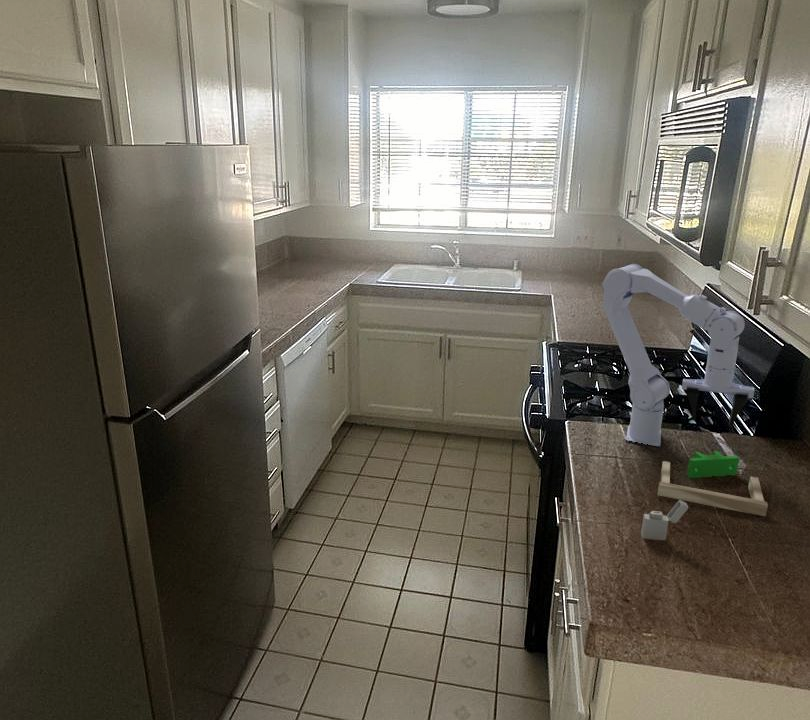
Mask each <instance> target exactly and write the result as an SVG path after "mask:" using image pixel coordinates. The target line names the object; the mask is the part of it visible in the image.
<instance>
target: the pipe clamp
mask: <svg viewBox="0 0 810 720" xmlns="http://www.w3.org/2000/svg"><path fill="white" fill-rule="evenodd" d="M739 461H740V457H739V456H737V455H723V454H722V453H720V452H719V451H718V450H714V451H713V454H711V455H708V454H704V453H701V452H699V451H695V454H694V457H691V458H689V461H688V466H687V471H686V477H688V479H694V478H695V479H697V478H711V477H712V476H715V477H726V475H731V476H737V473H738V468H739V463H740V462H739Z"/></svg>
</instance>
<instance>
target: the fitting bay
mask: <svg viewBox="0 0 810 720" xmlns="http://www.w3.org/2000/svg"><path fill="white" fill-rule="evenodd" d="M670 479H671V462H670V461H666V460H662V464H661V472H660V481H659V482H658V487H657V488H658V490H657V496H660V497H664V498H670V499H675V500H678V501H679V500H681V501H683V502H685V501H686V502H690V503H695V504H699V505H700V504H701V505H705V506H709V507H710V506H711V507H715V508H719V509H726V510H731V511H734V512H735V511H736V512H741V513H745V514H751V515H757V516H759V517H760V516H762V517H766V516H767V512H768V507H769V504H768V501H765V499H764V495H763V492H762V487H761V484H760V480H759V479H760V478H759V477H755V476H749V479H748V486H747V488H748V492H749V496H750V498H749V497H743V496H738V495H734V494H727V493H723V492H722V493H721V492H719V491H718V492H716V491H711V490H706V489H700V488H696V487H691V486H685V485H680V484H675V483H671V480H670Z"/></svg>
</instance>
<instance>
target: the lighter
mask: <svg viewBox="0 0 810 720" xmlns="http://www.w3.org/2000/svg"><path fill="white" fill-rule="evenodd" d="M688 509H689V506H688V503H687V502H685V501H684V500H679V499H678V501H677V502H676V503H675V504H674V505H673V507H672V508H671V510H669V512H668V513H667V515H664V514H663V512H662V511H660V510H659V511H656V510H652V511H651V512H649V513H644V514H643V517H642V525H641V529H640V535H641V538H642V539H643V540H656V541H666V538H667V535H668V534H667V532H668V526H669V521H670V522H671V523H673V524H677V523H678V521H679V520H680V519H681V518H682V517H683V515H684V514H685V513H686V512H687V510H688Z"/></svg>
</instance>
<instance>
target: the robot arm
mask: <svg viewBox="0 0 810 720" xmlns="http://www.w3.org/2000/svg"><path fill="white" fill-rule="evenodd" d="M601 285H602V286H601V287H602V288H603V299H602V308H603V311H604V314H605V316H606V318H607V320H608V323H609V325H610V328H611V330H612V333H613V335H614V337H615V339H616V342H617V344H618V347H619V350H620V351H621V354H622V357H623V359H624V362H625V364H626V366H627V369H628V372H629V378H628V384H627V385H628V386H629V387H628V388H629V391H630V392H629V398H630V401H631V403H632V407H631V414H630V422H629V425H627V426H628V427H627V430H626V437H625V441H626V440H627V441H626V442H629V441H632V442H631V443H635V442H638V443H637V444H641V443H643V444H642V445H647V444H648V446H654V447H661V443H662V441H661V438H662V430H661V428H662V422H663V416H664V408H665V404H664V399H666V398H667V397H668V396H669V394H670V391H671V387H670V384H669V382H668V381H667V379H666V378H665V377H664V376H662V375H663V374H662V375H661V372H660V370H659V368H657V367H656V366H654V365H653V364H652V362H651V360H650V358H649V355H648V353H647V350H646V347H645V345H644V343H643V340H642V338H641V336H640V334H639V331H638V329H637V326H636V324H635V321H634V319H633V316H632V315H631V311H630V309H629V307H628V306H629V304H630V302H631V301H632V299H633V297H634V295H635V294H637V293H649V294H651V295H652V296H654V297H656V298H657V299H660V300H663V301H664V302H666V303H668V304H670V305H671V306H674V307H676V308H677V309H678V311H679V313H680V314H679V315H680V316H681V317H683V318H684V319H685V320H688V321H689V322H691V323H693V324H695V325H696V326H697V327H700V328H701V329H703V330H704V331H707V333H708V335H709V337H710V341H709V342H710V343H709V345H708V351H707V352H708V354H707V358H706V359H707V361H706V366H705V372H704V379H690V378H688V379H687V378H683V379H682V384H681V385H682V386H681V389H682V390H686V396H687V399H688V402H689V404H690V409H691V414H692V418H691V419H692V421H696V419H697V405H698V401H699V393H700V392H699V391H702V392H710V393H720V394H727V395H733V399H732V406H731V412H730V416H729V421H728V424H729V426H731V427H733V426H734V422H735V420H736V419H737V416H738V415H739V413H740V412H741V411H742V409H743V408H744V407H745V406H746V404H747V403H748V401H749V400H748V399H754V394H755V387H753V386H748V385H743V384H738V383H734V382H733V381H734V376H735V369H736V366H737V365H736V364H737V363H736V362H737V358H738V351H739V341H740V336H739V335H741V334H742V332H743V331H744V329H745V324H746V323H745V319H744V318H743V317H742V315H740V314H739V313H738V312H737V311H735V310H727V308H725V307H724V306H722V307H719V306H718V305H716V304H715V303H712V302H711V301H709V300H707V298H708V297H707V296H706V295H705V294H700V295H698V294H691V295H687V294H686V293H684V292H683V291H681V290H679V289H678V288H676V287H674V286H673V285H671V284H669V283H668V282H666V281H665V280H663V279H661V278H660V277H658V276H657V275H656V274H654V273H653V272H652V271H651V270H649V269H647V268H643V267H642V266H641V265H639V264H637V263H630V264H628V265H625V266H622V267H619V268H614V269H611V270H609V272H607V274H606V276H605V278H604V280H602V283H601Z"/></svg>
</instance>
